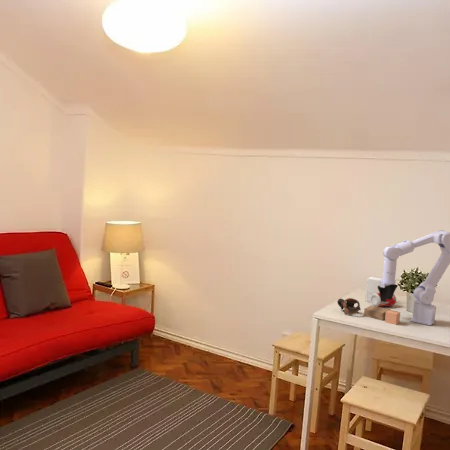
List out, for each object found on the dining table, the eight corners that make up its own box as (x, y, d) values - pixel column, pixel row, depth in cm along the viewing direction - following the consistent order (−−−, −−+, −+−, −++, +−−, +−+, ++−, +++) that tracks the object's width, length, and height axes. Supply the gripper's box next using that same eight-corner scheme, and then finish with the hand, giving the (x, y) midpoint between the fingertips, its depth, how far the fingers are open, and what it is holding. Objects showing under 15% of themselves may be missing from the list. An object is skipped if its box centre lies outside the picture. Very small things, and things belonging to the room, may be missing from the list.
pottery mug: (362, 313, 233) (364, 301, 228) (353, 325, 227) (355, 313, 223) (340, 302, 239) (342, 290, 235) (330, 313, 234) (332, 301, 229)
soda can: (374, 290, 246) (392, 289, 251) (367, 298, 250) (385, 297, 255) (381, 301, 241) (399, 300, 246) (374, 309, 246) (392, 308, 250)
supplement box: (382, 301, 259) (384, 278, 257) (378, 304, 253) (380, 280, 251) (368, 298, 263) (370, 276, 261) (364, 301, 256) (366, 278, 255)
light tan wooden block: (388, 317, 229) (389, 309, 228) (382, 321, 222) (383, 312, 221) (370, 313, 234) (371, 305, 234) (363, 316, 227) (364, 308, 227)
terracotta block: (399, 322, 220) (400, 312, 220) (395, 324, 216) (396, 314, 216) (388, 320, 223) (389, 309, 223) (384, 322, 219) (385, 311, 219)
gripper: (386, 268, 231) (383, 296, 232) (374, 272, 220) (372, 301, 221) (401, 271, 227) (398, 299, 228) (390, 275, 215) (387, 304, 217)
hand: (386, 300), depth 224 cm, fingers open, 7 cm apart
